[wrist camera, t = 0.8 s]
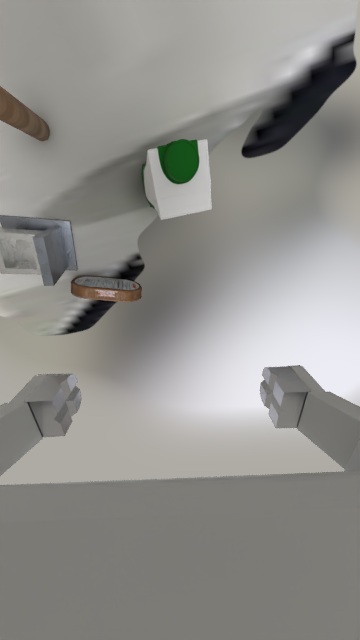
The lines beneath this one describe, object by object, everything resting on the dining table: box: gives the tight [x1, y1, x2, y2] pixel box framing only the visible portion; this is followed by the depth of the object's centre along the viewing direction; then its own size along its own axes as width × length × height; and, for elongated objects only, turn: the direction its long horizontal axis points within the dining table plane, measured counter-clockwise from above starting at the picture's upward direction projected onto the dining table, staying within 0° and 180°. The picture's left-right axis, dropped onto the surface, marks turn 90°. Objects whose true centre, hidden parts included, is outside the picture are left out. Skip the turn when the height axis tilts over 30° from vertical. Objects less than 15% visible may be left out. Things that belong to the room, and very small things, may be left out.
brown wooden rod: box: [0, 86, 50, 141], centre depth 27 cm, size 3×3×18 cm
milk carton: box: [142, 139, 212, 220], centre depth 34 cm, size 9×9×20 cm
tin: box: [71, 276, 142, 302], centre depth 47 cm, size 15×3×8 cm, turn 79°
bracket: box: [0, 215, 78, 286], centre depth 39 cm, size 12×10×12 cm
